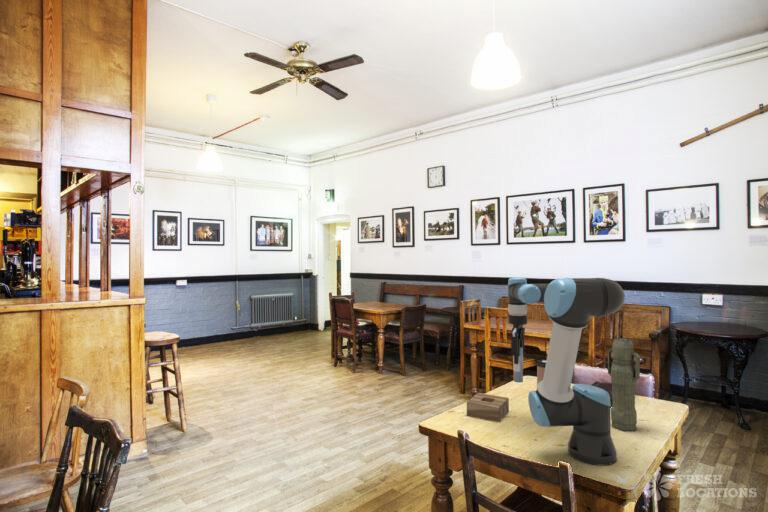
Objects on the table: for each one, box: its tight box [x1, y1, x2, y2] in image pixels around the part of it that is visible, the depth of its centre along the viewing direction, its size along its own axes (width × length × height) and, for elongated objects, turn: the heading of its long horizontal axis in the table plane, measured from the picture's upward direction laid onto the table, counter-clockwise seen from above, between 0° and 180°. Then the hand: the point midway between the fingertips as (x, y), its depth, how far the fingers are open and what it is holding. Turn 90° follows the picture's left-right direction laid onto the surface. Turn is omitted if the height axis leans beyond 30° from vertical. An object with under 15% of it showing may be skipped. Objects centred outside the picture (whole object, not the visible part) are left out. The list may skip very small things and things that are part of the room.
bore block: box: [466, 392, 510, 423], centre depth 187 cm, size 14×14×6 cm
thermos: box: [606, 337, 641, 432], centre depth 171 cm, size 9×12×35 cm
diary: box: [590, 380, 612, 409], centre depth 204 cm, size 19×25×5 cm
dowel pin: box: [513, 347, 524, 383], centre depth 181 cm, size 4×4×14 cm
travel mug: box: [536, 358, 547, 386], centre depth 198 cm, size 8×8×20 cm
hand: (518, 369), depth 181 cm, fingers closed on dowel pin, 3 cm apart
